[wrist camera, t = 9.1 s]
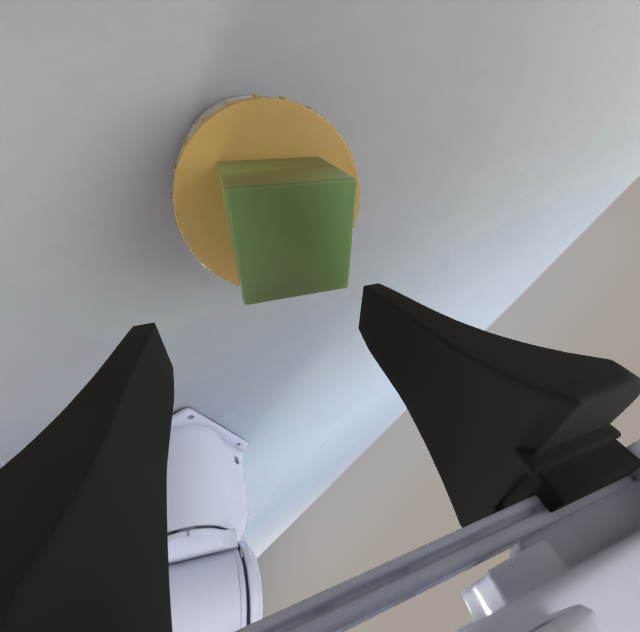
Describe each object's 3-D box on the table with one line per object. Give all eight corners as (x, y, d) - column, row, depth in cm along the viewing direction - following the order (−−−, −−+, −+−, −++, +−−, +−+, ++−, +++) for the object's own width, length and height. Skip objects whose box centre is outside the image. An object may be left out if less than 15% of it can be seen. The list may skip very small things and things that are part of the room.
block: (320, 156, 13) (357, 178, 10) (318, 249, 16) (348, 288, 13) (216, 161, 12) (224, 188, 9) (233, 260, 15) (244, 306, 12)
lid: (370, 227, 18) (380, 236, 17) (246, 304, 18) (249, 317, 17) (305, 48, 12) (315, 45, 11) (123, 166, 12) (117, 174, 11)
